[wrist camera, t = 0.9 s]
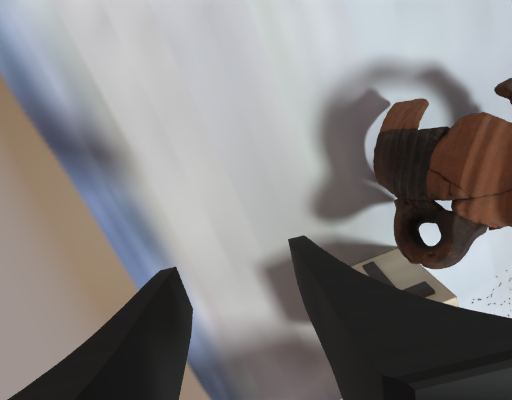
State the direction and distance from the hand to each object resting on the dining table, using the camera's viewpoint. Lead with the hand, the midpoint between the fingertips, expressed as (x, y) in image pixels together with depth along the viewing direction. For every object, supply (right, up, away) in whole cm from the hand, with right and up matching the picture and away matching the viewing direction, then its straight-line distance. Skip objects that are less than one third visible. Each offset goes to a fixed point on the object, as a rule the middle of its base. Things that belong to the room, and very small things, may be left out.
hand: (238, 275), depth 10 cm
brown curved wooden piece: (+11, +5, +10) cm, 16 cm away
